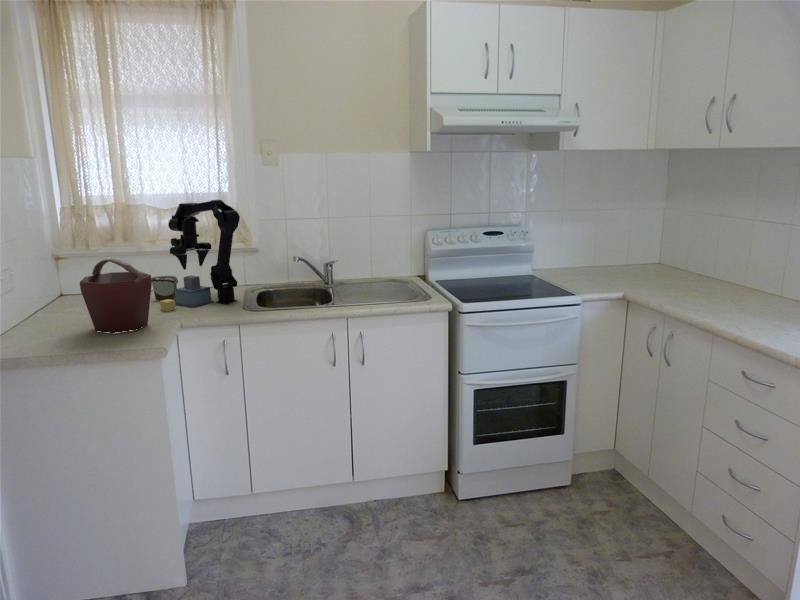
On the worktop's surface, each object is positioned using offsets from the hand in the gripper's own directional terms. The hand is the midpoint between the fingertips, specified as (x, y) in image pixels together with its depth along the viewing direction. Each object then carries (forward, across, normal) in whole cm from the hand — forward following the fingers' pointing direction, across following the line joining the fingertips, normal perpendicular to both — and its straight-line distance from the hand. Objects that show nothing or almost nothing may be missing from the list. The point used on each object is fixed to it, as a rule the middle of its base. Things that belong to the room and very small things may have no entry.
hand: (192, 267), depth 253 cm
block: (+13, +22, +8) cm, 27 cm away
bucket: (+13, +48, +14) cm, 52 cm away
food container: (+13, +9, -6) cm, 17 cm away
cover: (+13, +9, +9) cm, 18 cm away
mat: (+13, +9, +9) cm, 18 cm away
